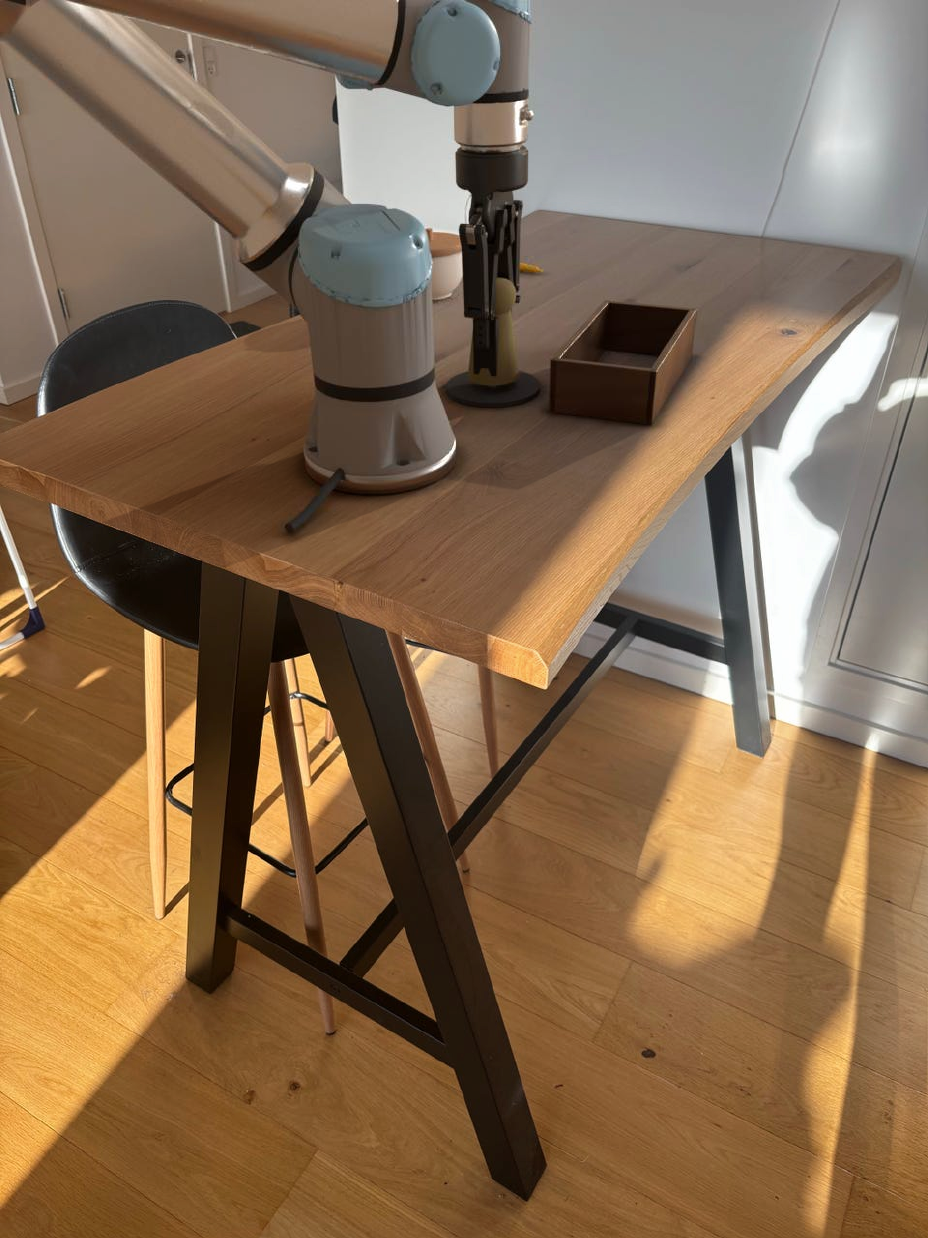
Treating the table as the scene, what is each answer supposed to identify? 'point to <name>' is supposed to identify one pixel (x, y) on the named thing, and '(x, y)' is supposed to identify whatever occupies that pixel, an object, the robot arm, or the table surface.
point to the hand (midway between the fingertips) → (493, 366)
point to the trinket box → (445, 263)
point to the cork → (500, 340)
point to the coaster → (493, 391)
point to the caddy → (622, 387)
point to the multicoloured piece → (529, 268)
